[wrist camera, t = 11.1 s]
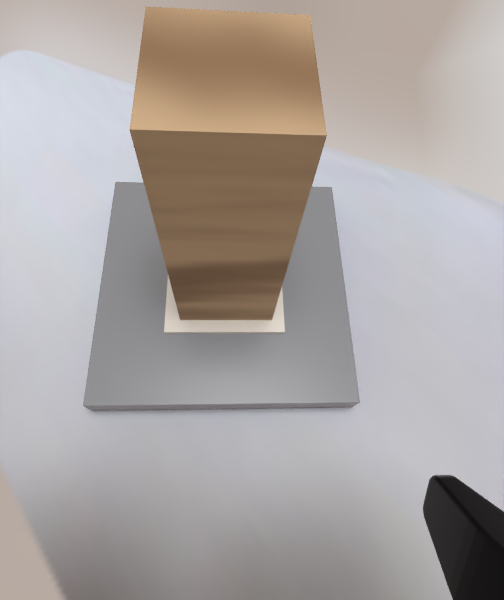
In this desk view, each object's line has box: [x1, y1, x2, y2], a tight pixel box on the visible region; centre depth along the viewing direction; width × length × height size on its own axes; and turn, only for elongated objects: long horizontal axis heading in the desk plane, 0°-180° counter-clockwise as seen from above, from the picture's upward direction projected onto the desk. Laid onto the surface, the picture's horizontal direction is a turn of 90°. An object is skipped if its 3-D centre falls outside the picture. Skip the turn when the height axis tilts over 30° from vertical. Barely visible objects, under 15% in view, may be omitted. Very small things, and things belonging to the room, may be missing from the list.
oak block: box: [130, 7, 327, 320], centre depth 17 cm, size 5×5×13 cm
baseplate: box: [83, 182, 360, 411], centre depth 24 cm, size 14×14×2 cm
